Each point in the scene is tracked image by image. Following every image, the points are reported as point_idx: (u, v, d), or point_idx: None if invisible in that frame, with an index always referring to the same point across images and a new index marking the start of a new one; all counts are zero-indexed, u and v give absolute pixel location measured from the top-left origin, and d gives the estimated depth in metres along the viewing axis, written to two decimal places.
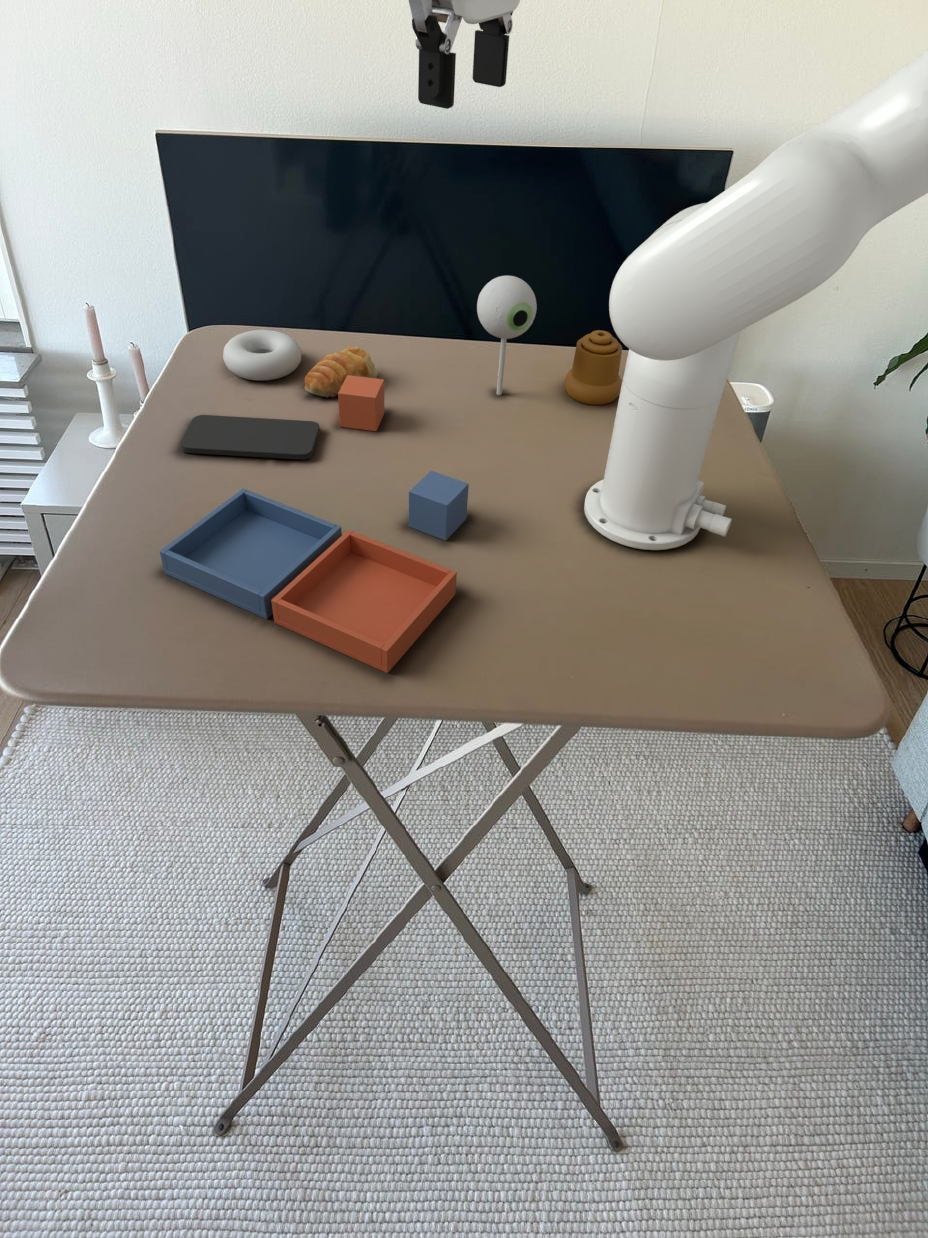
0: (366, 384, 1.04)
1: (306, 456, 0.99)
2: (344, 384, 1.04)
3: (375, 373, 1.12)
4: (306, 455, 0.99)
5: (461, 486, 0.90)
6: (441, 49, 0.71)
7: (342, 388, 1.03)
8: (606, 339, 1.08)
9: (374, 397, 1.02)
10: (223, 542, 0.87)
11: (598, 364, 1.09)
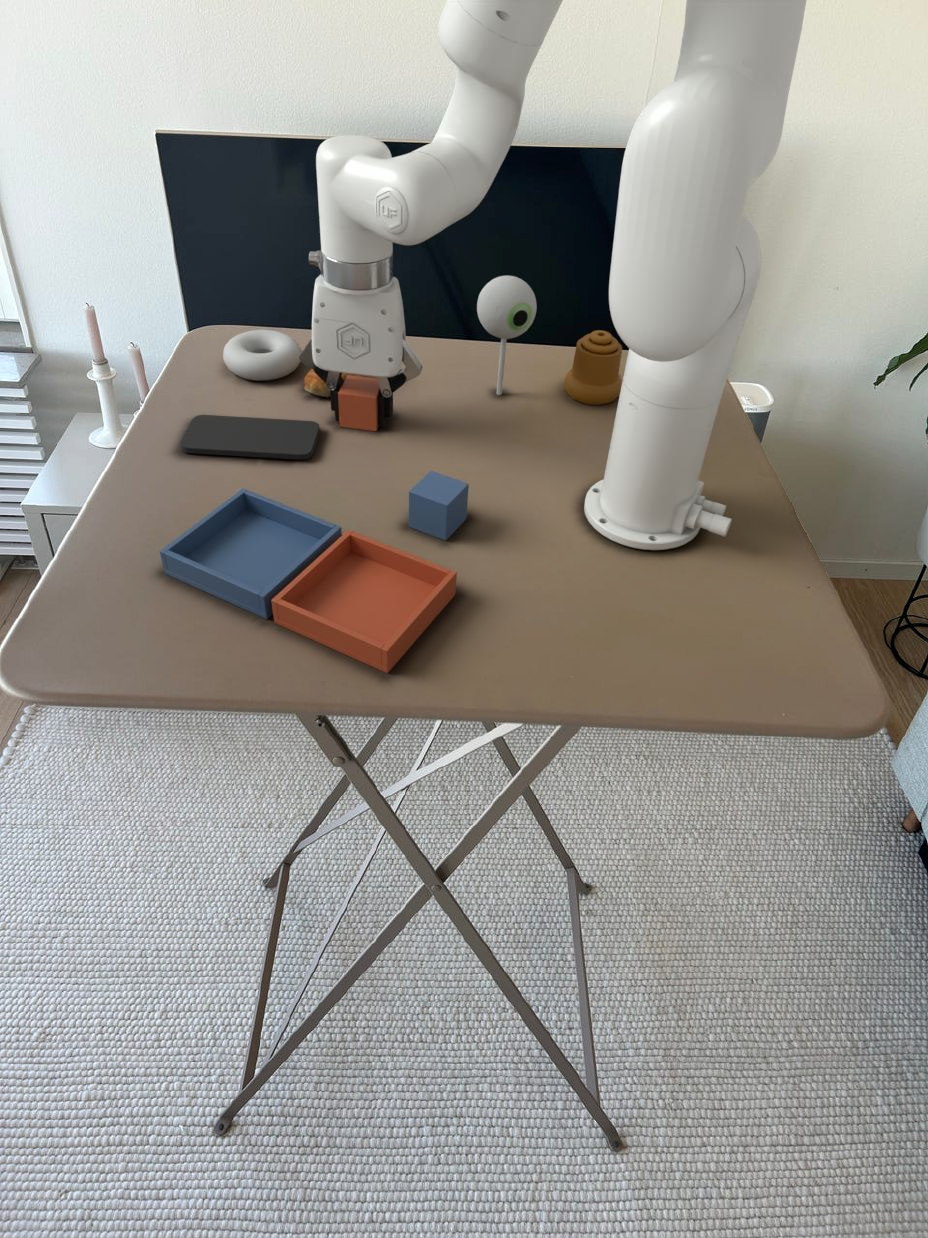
0: (366, 384, 1.04)
1: (306, 456, 0.99)
2: (344, 384, 1.04)
3: None
4: (306, 455, 0.99)
5: (461, 486, 0.90)
6: (328, 387, 1.03)
7: (342, 388, 1.03)
8: (606, 339, 1.08)
9: (374, 397, 1.02)
10: (223, 542, 0.87)
11: (598, 364, 1.09)
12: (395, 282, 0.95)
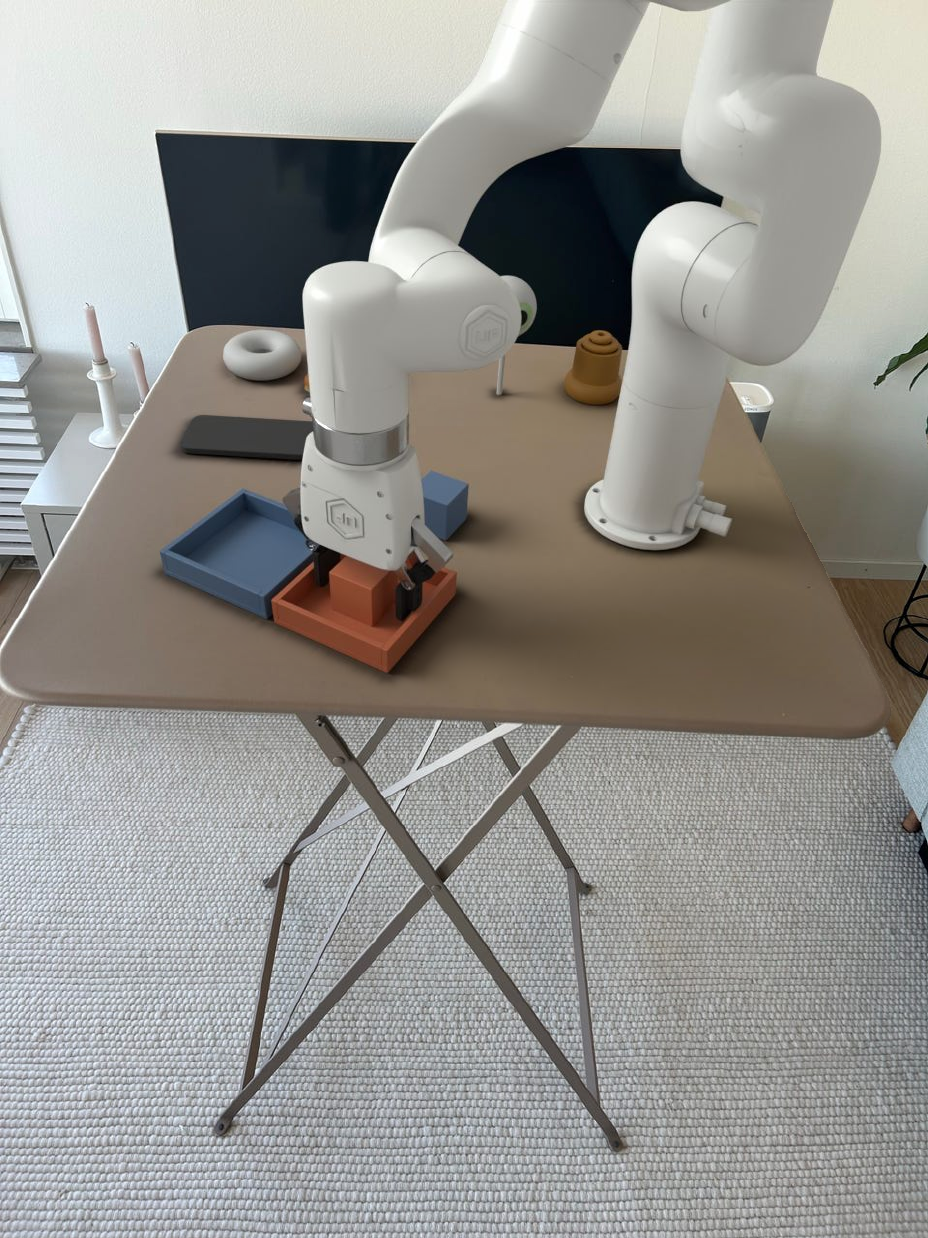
0: None
1: None
2: (344, 560, 0.79)
3: None
4: None
5: (461, 486, 0.90)
6: (307, 544, 0.80)
7: (338, 566, 0.79)
8: (606, 339, 1.08)
9: (370, 589, 0.77)
10: (223, 542, 0.87)
11: (598, 364, 1.09)
12: (408, 456, 0.70)
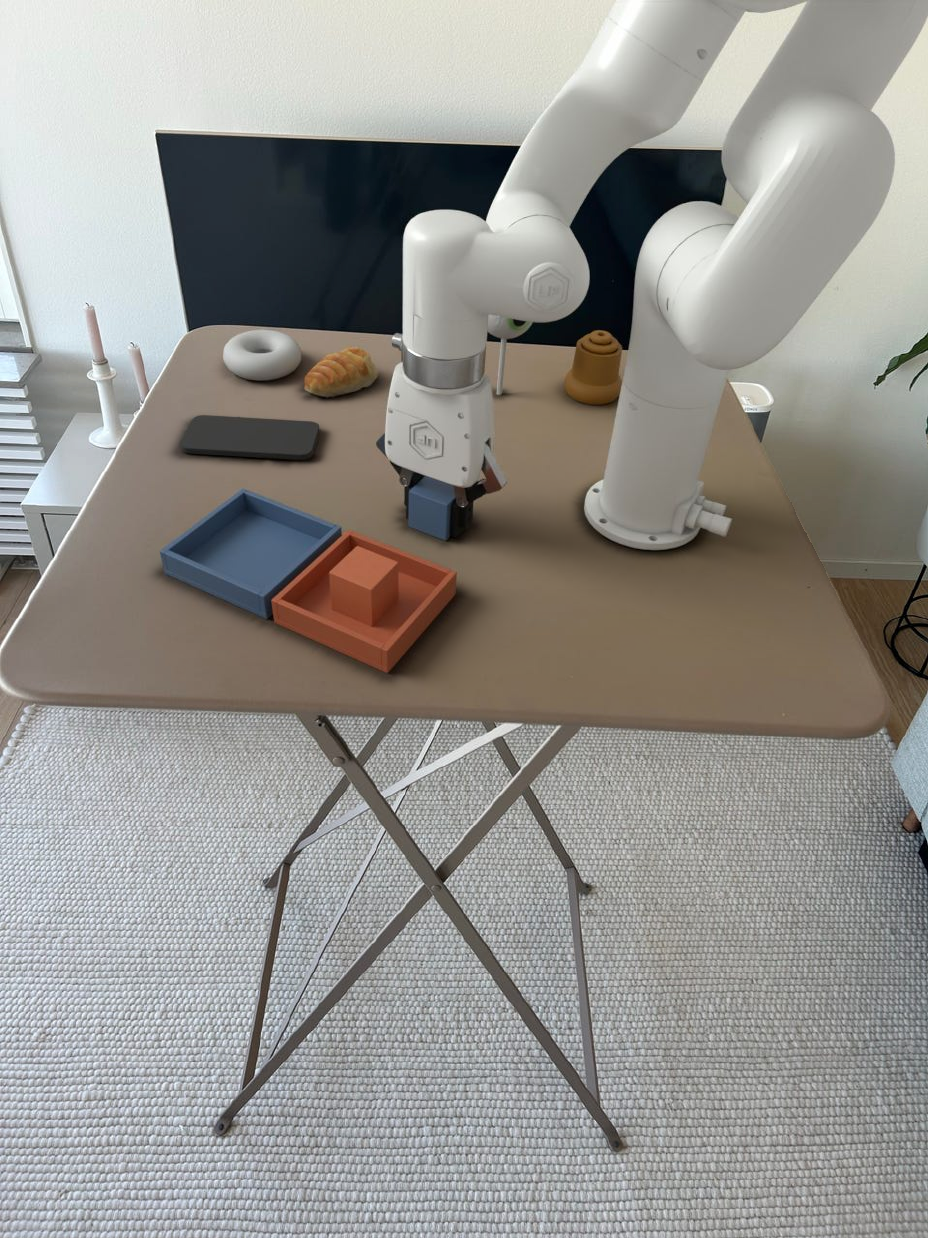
0: (372, 565, 0.79)
1: (306, 456, 0.99)
2: (344, 560, 0.79)
3: (375, 373, 1.12)
4: (305, 455, 0.99)
5: None
6: (402, 482, 0.90)
7: (338, 566, 0.79)
8: (606, 339, 1.08)
9: (370, 589, 0.77)
10: (223, 542, 0.87)
11: (598, 364, 1.09)
12: (484, 383, 0.80)
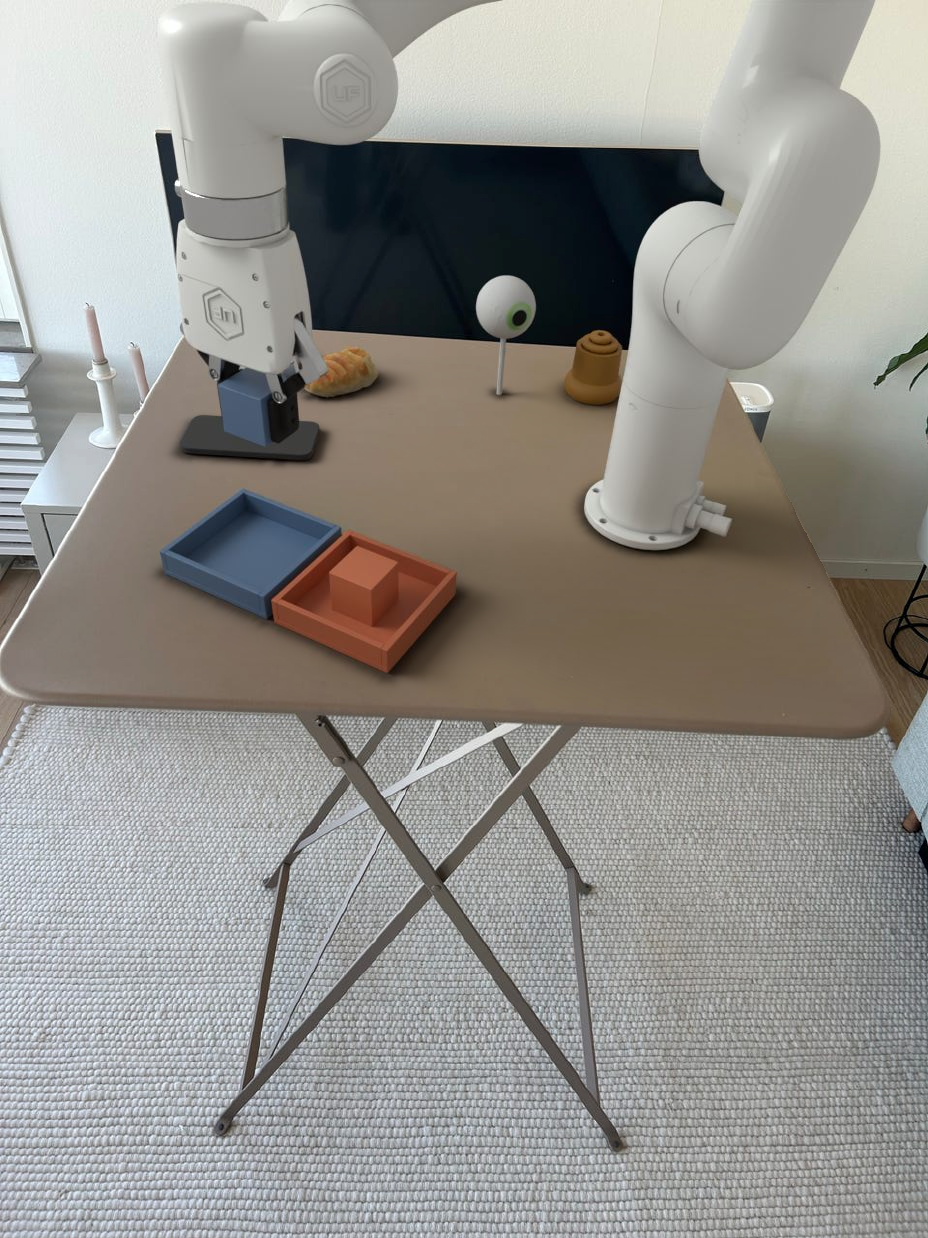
0: (372, 565, 0.79)
1: (306, 457, 0.99)
2: (344, 560, 0.79)
3: (375, 373, 1.12)
4: (305, 456, 0.99)
5: (283, 380, 0.75)
6: (212, 376, 0.75)
7: (338, 566, 0.79)
8: (606, 339, 1.08)
9: (370, 589, 0.77)
10: (223, 542, 0.87)
11: (598, 364, 1.09)
12: (287, 238, 0.65)
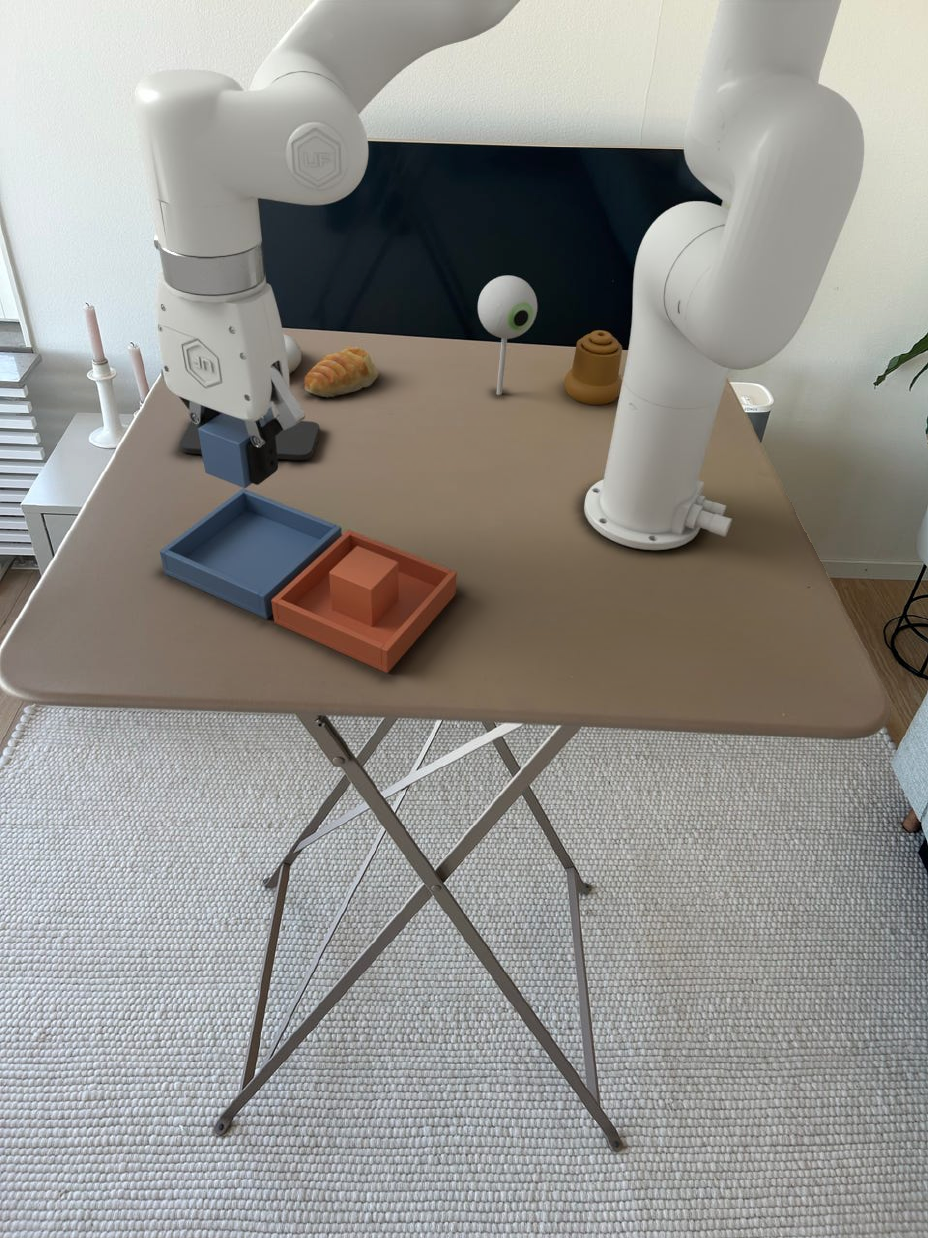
0: (372, 565, 0.79)
1: (306, 456, 0.99)
2: (344, 560, 0.79)
3: (375, 373, 1.12)
4: (305, 456, 0.99)
5: (262, 424, 0.76)
6: (193, 419, 0.77)
7: (338, 566, 0.79)
8: (606, 339, 1.08)
9: (370, 589, 0.77)
10: (223, 542, 0.87)
11: (598, 364, 1.09)
12: (263, 292, 0.67)
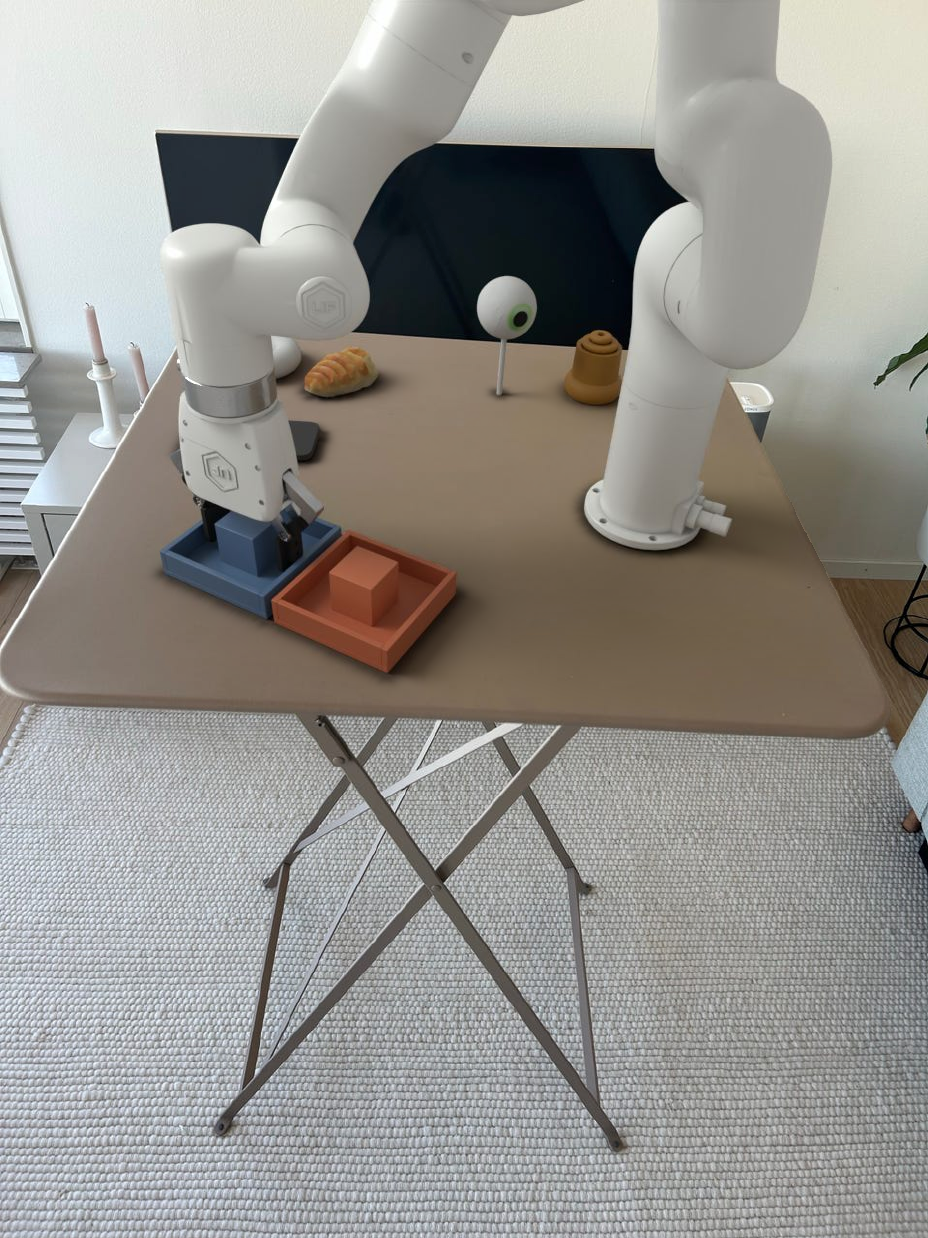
0: (372, 565, 0.79)
1: (306, 457, 0.99)
2: (344, 560, 0.79)
3: (375, 373, 1.12)
4: (305, 456, 0.99)
5: None
6: (195, 500, 0.84)
7: (338, 566, 0.79)
8: (606, 339, 1.08)
9: (370, 589, 0.77)
10: None
11: (598, 364, 1.09)
12: (275, 410, 0.74)
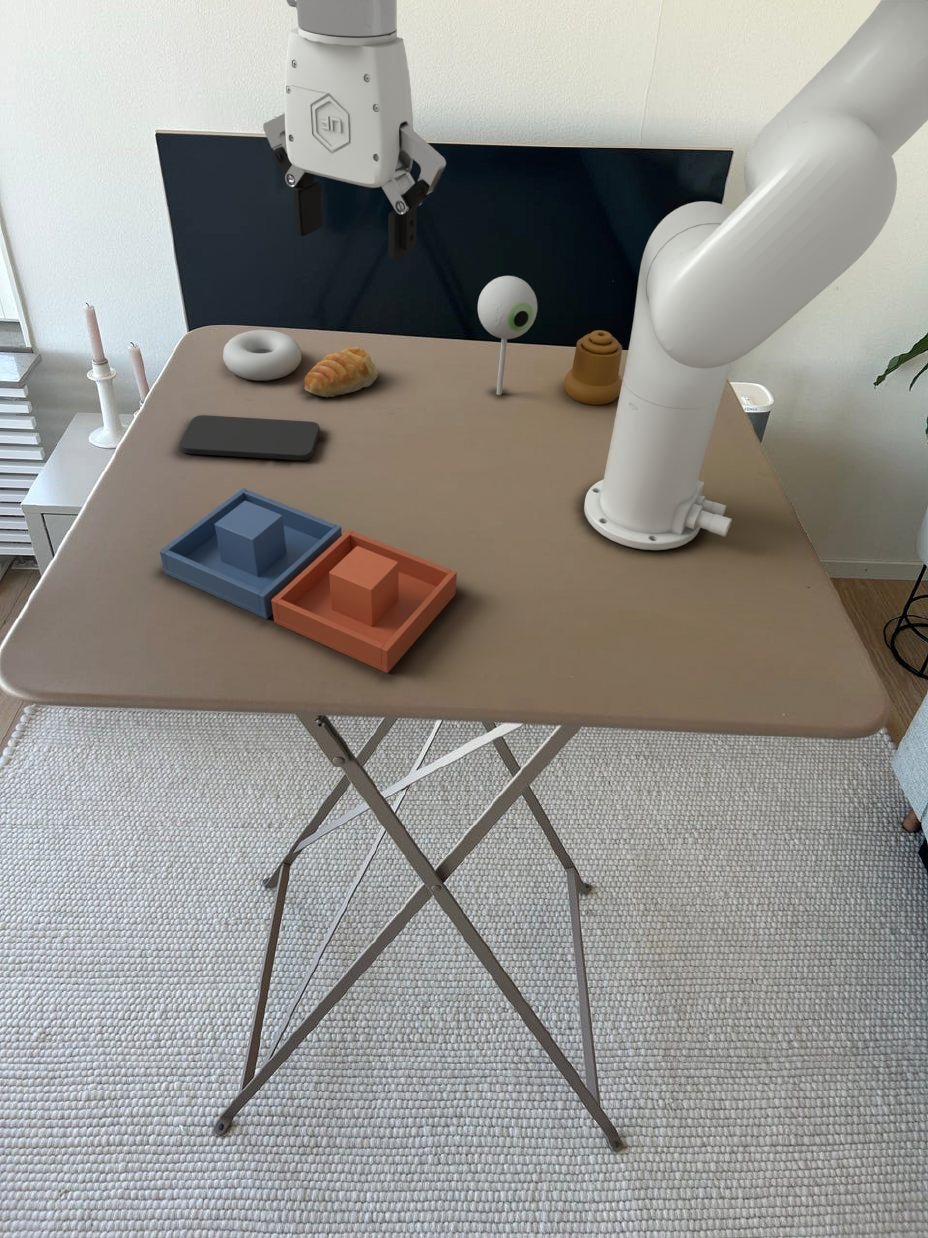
0: (372, 565, 0.79)
1: (306, 457, 0.99)
2: (344, 560, 0.79)
3: (375, 373, 1.12)
4: (305, 456, 0.99)
5: (273, 518, 0.83)
6: (287, 179, 0.77)
7: (338, 566, 0.79)
8: (606, 339, 1.08)
9: (370, 589, 0.77)
10: None
11: (598, 364, 1.09)
12: (396, 41, 0.67)
